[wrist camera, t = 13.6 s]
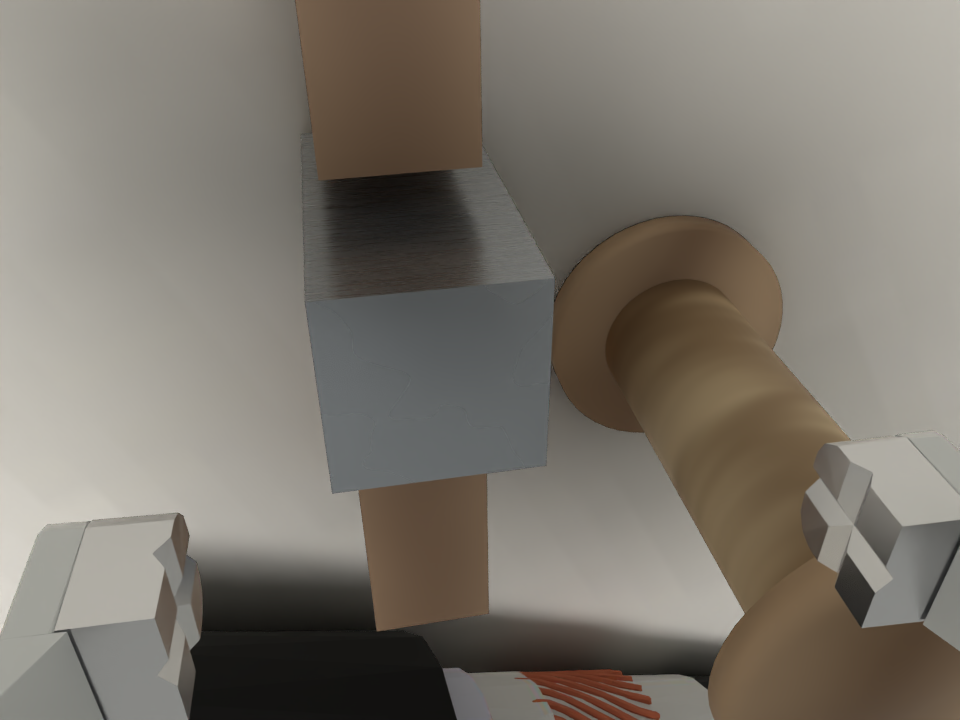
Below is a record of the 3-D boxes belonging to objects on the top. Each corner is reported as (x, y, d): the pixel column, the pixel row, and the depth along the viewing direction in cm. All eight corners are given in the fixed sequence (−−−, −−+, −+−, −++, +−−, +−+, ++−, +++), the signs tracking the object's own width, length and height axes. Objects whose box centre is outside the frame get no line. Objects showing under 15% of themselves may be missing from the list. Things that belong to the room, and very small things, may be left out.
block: (470, 122, 20) (555, 277, 14) (472, 270, 22) (546, 465, 16) (301, 133, 20) (304, 302, 13) (320, 284, 22) (332, 493, 15)
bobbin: (786, 205, 24) (1171, 523, 14) (747, 399, 28) (1023, 764, 18) (550, 227, 23) (768, 588, 13) (544, 426, 27) (705, 829, 17)
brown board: (421, -283, 17) (475, -318, 12) (453, 467, 27) (488, 613, 23) (265, -283, 16) (254, -319, 11) (361, 480, 27) (376, 631, 22)
